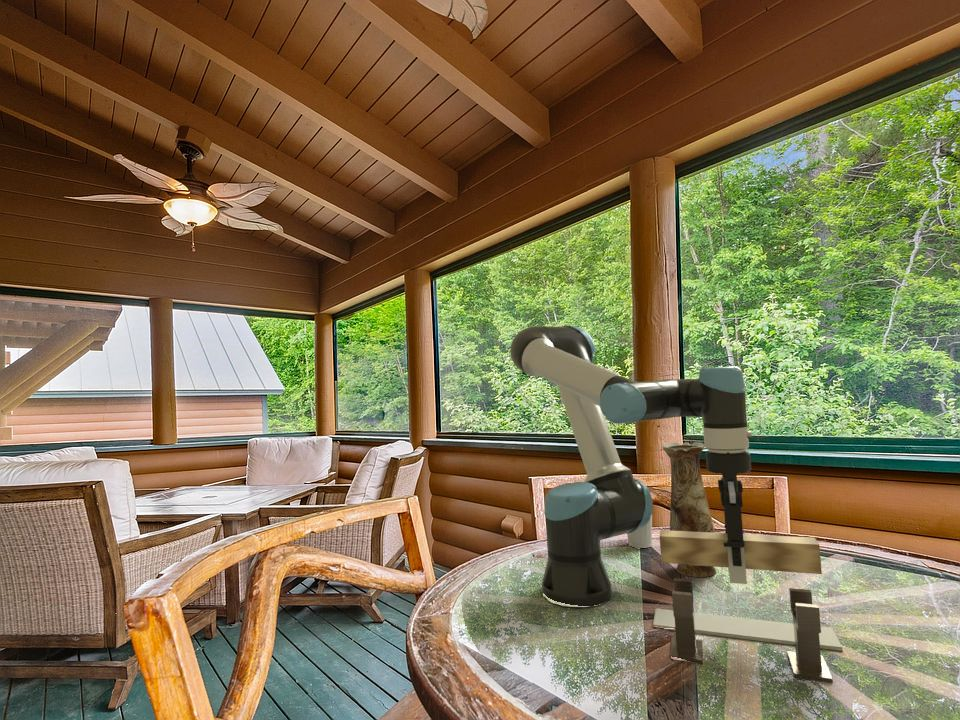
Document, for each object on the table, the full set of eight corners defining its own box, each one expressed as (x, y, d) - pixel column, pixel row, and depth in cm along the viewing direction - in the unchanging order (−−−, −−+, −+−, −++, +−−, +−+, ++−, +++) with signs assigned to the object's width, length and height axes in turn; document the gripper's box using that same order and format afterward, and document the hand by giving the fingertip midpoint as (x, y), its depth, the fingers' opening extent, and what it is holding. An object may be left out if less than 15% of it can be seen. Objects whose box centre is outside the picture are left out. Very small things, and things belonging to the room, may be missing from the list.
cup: (640, 552, 139) (636, 506, 140) (619, 544, 147) (616, 501, 147) (661, 546, 143) (658, 501, 144) (640, 538, 150) (637, 496, 151)
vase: (721, 580, 118) (711, 447, 119) (671, 577, 121) (662, 447, 122) (716, 563, 128) (707, 441, 129) (670, 561, 131) (661, 441, 132)
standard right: (794, 677, 80) (788, 604, 81) (787, 654, 87) (782, 587, 87) (832, 682, 78) (826, 608, 79) (822, 659, 85) (817, 590, 85)
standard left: (670, 659, 87) (665, 592, 88) (672, 639, 94) (667, 577, 94) (702, 664, 85) (697, 595, 86) (702, 643, 92) (697, 580, 92)
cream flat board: (653, 627, 98) (653, 624, 98) (656, 611, 105) (655, 608, 105) (842, 650, 87) (842, 647, 87) (832, 631, 93) (832, 627, 93)
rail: (661, 562, 99) (659, 536, 99) (662, 555, 103) (660, 530, 103) (821, 574, 89) (819, 544, 89) (816, 566, 93) (814, 537, 93)
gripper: (754, 457, 88) (766, 598, 87) (745, 443, 103) (755, 563, 102) (705, 457, 91) (716, 594, 90) (704, 443, 106) (713, 560, 105)
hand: (737, 577), depth 96 cm, fingers closed on rail, 4 cm apart
